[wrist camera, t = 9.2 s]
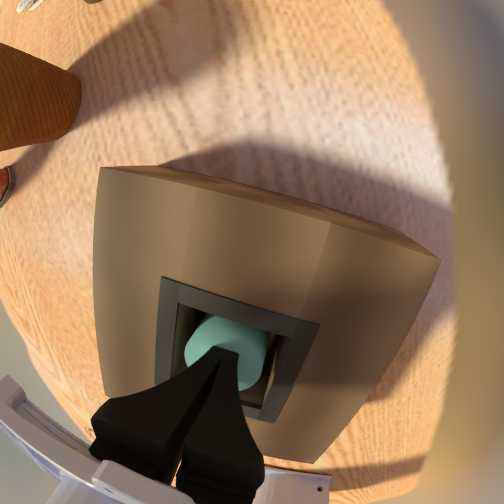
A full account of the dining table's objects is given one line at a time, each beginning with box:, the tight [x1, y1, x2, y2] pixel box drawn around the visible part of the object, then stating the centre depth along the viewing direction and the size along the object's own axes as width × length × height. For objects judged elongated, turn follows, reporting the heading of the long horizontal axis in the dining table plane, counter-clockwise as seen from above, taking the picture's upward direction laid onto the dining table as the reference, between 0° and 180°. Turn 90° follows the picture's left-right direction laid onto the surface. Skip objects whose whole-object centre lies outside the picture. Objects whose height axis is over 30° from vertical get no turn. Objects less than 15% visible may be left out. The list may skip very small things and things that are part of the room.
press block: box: [93, 166, 441, 464], centre depth 16 cm, size 16×16×6 cm
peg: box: [184, 313, 270, 391], centre depth 15 cm, size 4×4×5 cm
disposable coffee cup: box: [0, 43, 81, 151], centre depth 11 cm, size 10×10×12 cm
